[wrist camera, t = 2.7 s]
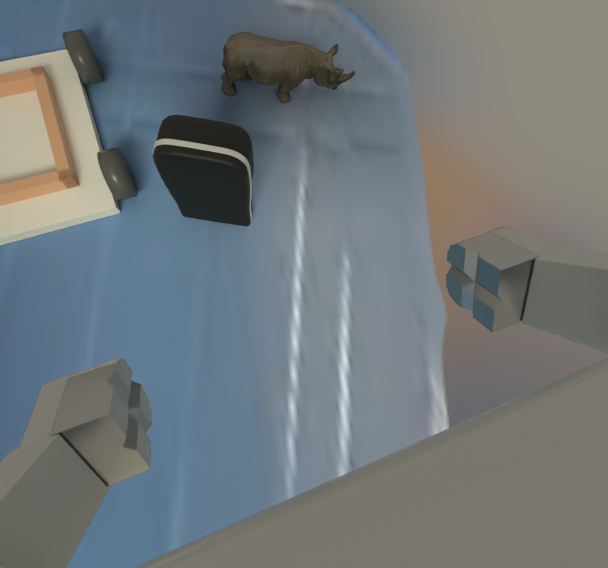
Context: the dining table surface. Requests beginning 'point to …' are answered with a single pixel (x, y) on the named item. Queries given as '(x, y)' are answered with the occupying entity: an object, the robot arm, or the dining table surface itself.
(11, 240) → the chassis
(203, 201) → the battery charger
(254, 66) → the rhino figurine
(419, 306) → the dining table surface
